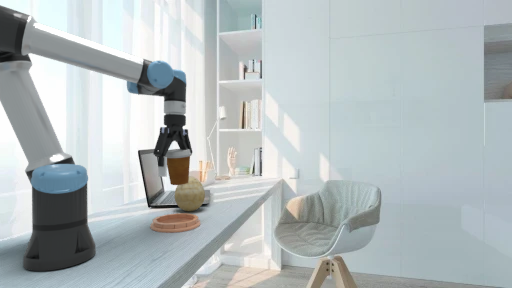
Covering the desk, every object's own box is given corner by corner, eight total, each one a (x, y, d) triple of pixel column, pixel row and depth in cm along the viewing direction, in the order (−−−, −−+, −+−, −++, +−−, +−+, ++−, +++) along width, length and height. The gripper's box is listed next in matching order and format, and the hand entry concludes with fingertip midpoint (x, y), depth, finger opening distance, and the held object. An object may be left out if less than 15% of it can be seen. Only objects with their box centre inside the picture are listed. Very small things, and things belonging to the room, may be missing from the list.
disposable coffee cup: (186, 186, 102) (184, 152, 101) (161, 186, 104) (158, 152, 103) (197, 180, 112) (195, 148, 110) (173, 179, 113) (171, 148, 112)
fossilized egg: (195, 215, 119) (195, 178, 119) (168, 213, 123) (168, 177, 123) (210, 208, 132) (209, 175, 131) (185, 207, 135) (184, 174, 135)
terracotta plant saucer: (154, 235, 94) (154, 227, 94) (147, 222, 109) (147, 216, 109) (206, 228, 101) (206, 221, 101) (193, 217, 116) (193, 211, 116)
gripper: (162, 110, 92) (161, 178, 92) (201, 117, 115) (201, 172, 115) (142, 110, 94) (141, 177, 94) (184, 118, 118) (184, 171, 118)
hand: (174, 174), depth 105 cm, fingers open, 13 cm apart
